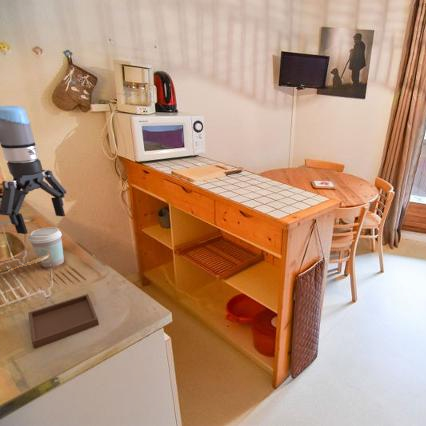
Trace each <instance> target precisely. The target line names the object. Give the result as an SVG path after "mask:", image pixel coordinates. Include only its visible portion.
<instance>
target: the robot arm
mask: <svg viewBox="0 0 426 426" xmlns="http://www.w3.org/2000/svg"><path fill="white" fill-rule="evenodd" d="M0 147H1V151H2V153H3V156H4V160H5V161H7V162H6V165H7V169H8V171H9V174H10V175H11V176H12V177H13V178H12V180H3V181H2V182H1V184H2V195H1V201H0V216H8V217H9V220H10V223H11V225H13V226H14V227H15V230H16V233H17V234H22V235H27V234H28V233H29V232H28V229H27V226H26V223H25V220H24V218H23V214H22V213H21V212H20V210H21V208H22V206H23V204H24V200H25V198H26V196H27V195H28V194H29V192H33V191H34V190H38V189H41V190H42V191H44V192H46V193H47V194H48V195H50V196H51V198H50V200H51V202H52V207H53V210H54V214H55V216H56V217H66V212H65V210H64V201H63V198H65V195H66V194H67V190H66V189H65V188H64V187H63V185H62V184H61V183H60V182H59V181H58V179H57V178H56V177H55V176H54V174H53V171H52V170H49V169H43V166H42V162H41V160H40V159H39V157H40V155H39V153H38V148H37V145H36V142H35V137H34V134H33V131H32V127H31V122H30V120H29V118H28V116H27V112H26V110H25V108H23V107H22V106H19V105H8V104H7V105H0ZM44 180H45V181H44Z"/></svg>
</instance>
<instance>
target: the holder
mask: <svg viewBox="0 0 426 426" xmlns="http://www.w3.org/2000/svg"><path fill="white" fill-rule="evenodd" d="M96 313H97V312H96V311H95V308H94V306H93V303H92V300H91V298H90V295H89V294H88V293H87V294H83V295H80V296H77V297H74V298H70V299H66V300H63V301H61V302H58V303H54V304H51V305H48V306H44V307H41V308H39V309H35V310H32V311H29V312H27V314H28V322H29V327H30V328H29V329H30V336H31V343H32V346H33V349H37V348H40V347H42V346H45V345H48V344H51V343H53V342H56V341H59V340H61V339H65V338H67V337H70V336H73V335H75V334H78V333H80V332H83V331H86V330H89V329H91V328H94V327H96V326H99V325H100V322H99V319H98V316H97V314H96Z"/></svg>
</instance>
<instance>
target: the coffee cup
mask: <svg viewBox="0 0 426 426" xmlns="http://www.w3.org/2000/svg"><path fill="white" fill-rule="evenodd" d="M62 236H63V233H62V232H61V231H60V229H59V228H58V227H56V226H55V227H54V226H49V227H41V228H37V229H35V230H33V231H31V232H30V233H29V235H28V242H29V243H30V244H31V246H32V248H33V250H34V252H35V254H36V256H37V258H38V259H39V257H42V256H45V255H47V254H50V257H49V258H48V259H45V260H43V261H41V262H40V264H41V266H42V267H43V268H46V269H47V268H54V267H58V266H60V265H62V264H63V263H64V262H65V258H64V250H63V249H64V248H63V240H62ZM50 264H51V267H50Z"/></svg>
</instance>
